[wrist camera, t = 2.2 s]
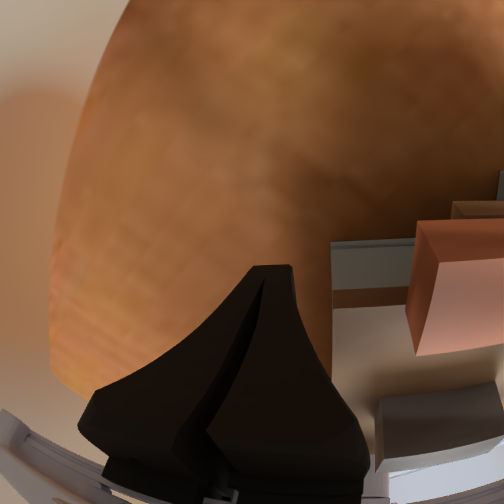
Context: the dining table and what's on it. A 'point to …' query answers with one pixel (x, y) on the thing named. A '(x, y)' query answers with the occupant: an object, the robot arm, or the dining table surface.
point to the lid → (415, 378)
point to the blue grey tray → (376, 261)
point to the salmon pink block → (456, 285)
